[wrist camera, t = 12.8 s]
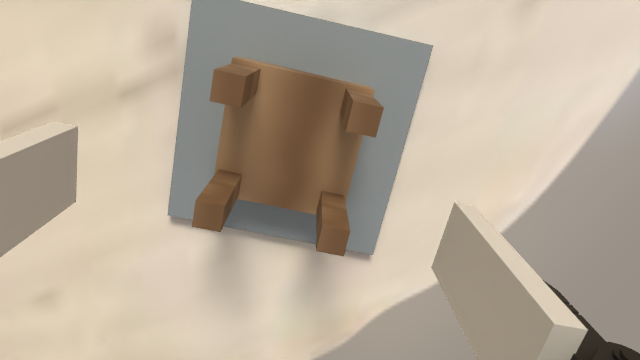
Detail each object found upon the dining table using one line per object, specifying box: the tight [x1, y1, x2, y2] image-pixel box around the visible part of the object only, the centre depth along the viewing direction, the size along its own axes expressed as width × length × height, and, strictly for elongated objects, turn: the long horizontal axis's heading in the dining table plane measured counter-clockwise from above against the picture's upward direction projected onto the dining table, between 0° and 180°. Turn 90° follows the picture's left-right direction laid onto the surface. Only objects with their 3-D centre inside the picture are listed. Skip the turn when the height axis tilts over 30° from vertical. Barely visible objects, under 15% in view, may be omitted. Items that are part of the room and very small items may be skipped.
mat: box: [168, 0, 433, 255], centre depth 27 cm, size 14×14×1 cm
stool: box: [192, 56, 384, 256], centre depth 23 cm, size 8×8×7 cm
